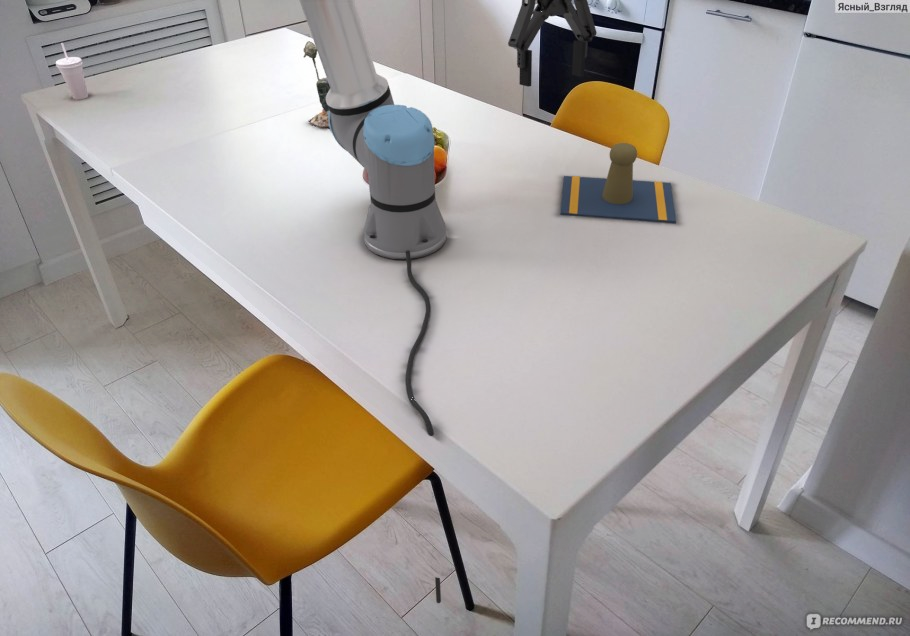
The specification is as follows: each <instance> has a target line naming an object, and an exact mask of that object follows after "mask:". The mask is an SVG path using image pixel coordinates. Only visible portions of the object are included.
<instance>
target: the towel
mask: <svg viewBox="0 0 910 636" xmlns="http://www.w3.org/2000/svg"><path fill="white" fill-rule="evenodd" d="M606 180H607V178H604V177H603V178H602V177H588V176H587V177H586V176H577V175H564V176H563V183H562V192H561V202H560V212H559V215H560V216H571V217H572V216H573V217H584V218H600V219H612V220H626V221H640V222H654V223H665V224H676V223H677V217H676V209H675V203H674V197H673V189H672V185H671V184H672V183H671V182H664V181H655V180H654V181H650V180H649V181H648V180H635V179H633V198H632V201H630V202H629V203H626V204H613V203H610V202H607V201H605V200H604V199H603V198H602V194H603V190H604V187H605V183H606Z"/></svg>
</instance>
